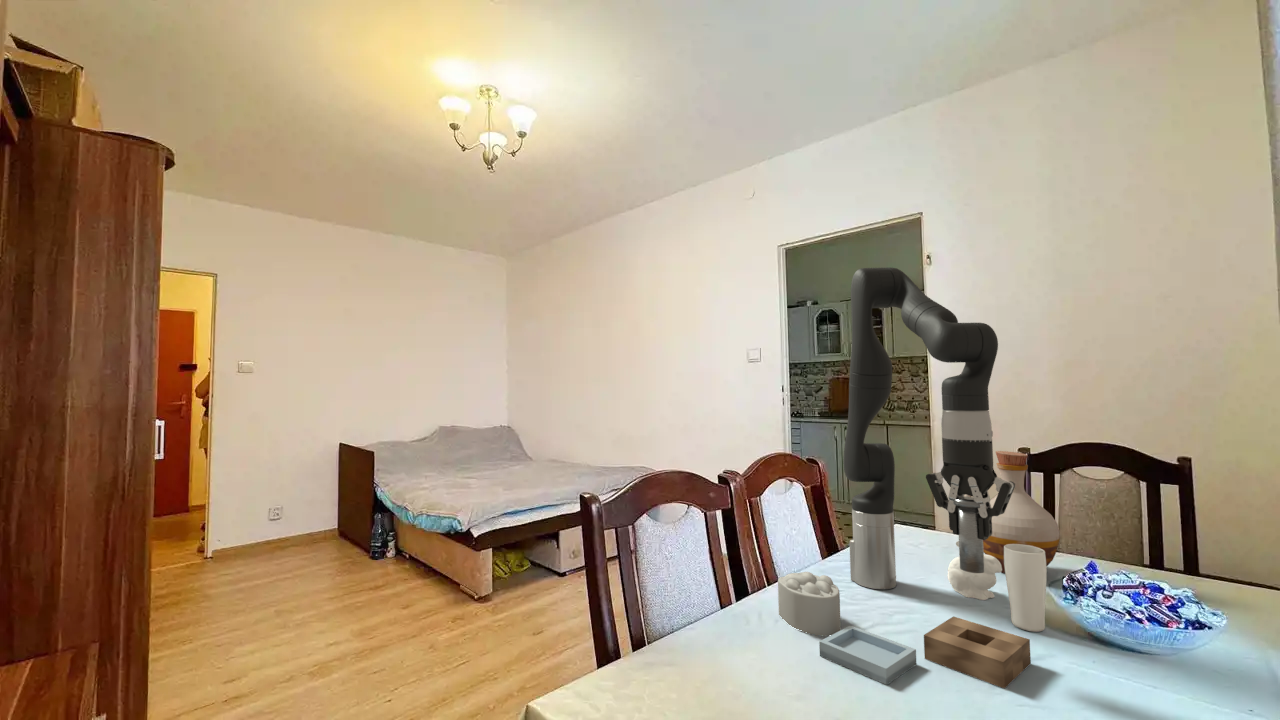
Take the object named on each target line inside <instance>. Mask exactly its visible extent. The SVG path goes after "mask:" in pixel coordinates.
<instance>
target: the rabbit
mask: <svg viewBox="0 0 1280 720" xmlns="http://www.w3.org/2000/svg"><path fill="white" fill-rule="evenodd" d="M955 545H956V547H957V548H959V540H956V542H955ZM1001 571H1002V567H1001V563H1000V562H999V561H998V560H997V559H996V558H995V557H993V556H991V555H986V554H985V553H984V572H983V573H971V572H966V571H963V570H961V569H960V557H959V556H956V557H954V558H953V559H952V560H951V561H950V563H949V565H948V568H947V579H948V580H947V581H948V582H949V584H950V585H951V587H952V589H953V590H954V591H955V592H956V593H959V594H960V595H962V596H963V597H964V598H969V599H971V598H972V599H976V600H980V601H988V599H993V598H995V594H994V593H993V592H992V591H990V589H991V588H993V587H994V586H995V585H996V584H997V575H996V574H1000V573H1002V572H1001Z"/></svg>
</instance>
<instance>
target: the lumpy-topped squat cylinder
mask: <svg viewBox="0 0 1280 720" xmlns="http://www.w3.org/2000/svg"><path fill="white" fill-rule="evenodd" d="M777 588H778V589H777V592H778V593H777V595H778V597H777V598H778V616H779V615H780V616H781V617H782V619H784V620H785V621H786V622H787V623H788V624H789V625H791V626H792V627H794V628H796V629H799V630H802V631H804V632H803V633H805V632H807V633H806V634H808V633H810V634H809V635H812V634H815V635H814V636H818V635H823V636H822V637H829V635H833V634H835V633H837V632H838V631H840V630H842V628H841V627H842V626H841V625H842V624H841V599H840V598H841V597H840V594H841V593H840V588H839V587H838V586H837V585H836V584H834V581H833V579H832V578H831V577H830V576H829V575H826V574H823V575H820V576H819V575H816V574H814V573H812V572H810V571H802V572H794V573H791V572H790V573H788V574H786V575H785V576H781V577H779V578H778V579H777ZM782 619H781V620H782ZM787 623H786V624H787ZM788 624H787V625H788ZM789 625H788V626H789ZM791 626H790V627H791ZM792 627H791V628H792ZM794 628H793V629H794ZM796 629H795V630H796ZM799 630H798V631H799ZM802 631H801V632H802Z"/></svg>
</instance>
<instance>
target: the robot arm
mask: <svg viewBox="0 0 1280 720" xmlns="http://www.w3.org/2000/svg"><path fill="white" fill-rule="evenodd" d="M850 285H851V286H850V310H851V311H850V312H851V348H850V349H851V351H850V364H849V383H848V413H847V414H848V417H847V427H846V434H845V441H844V450H843V457H842V458H843V461H842V462H843V471H844V474H845V477H846V478H847V480H849V482H854V483H855V482H856V483H873V484H872V486H871V487H870V488H869V489H867V490H866V491H864V492H861V493H859V494H856V495H854V496H853V497H852V499H851V516H852V517H851V518H852V522H851V523H852V539H850V540H849V566H850V568H849V569H850V581H852V582H855V583H856V584H857V585H859V586H862V587H864V588H865V587H866V588H870V589H876V590H889V589H890V590H891V589H894V588H895V587H897V572H896V567H897V566H896V565H897V564H896V545H895V544H896V541H895V538H896V537H895V522H894V521H895V518H894V515H895V514H894V503H895V477H896V476H895V473H896V472H895V471H896V470H895V468H896V467H895V456H894V452H893V449H892V448H891V447H890V446H889V445H888V444H887V443H881V442H877V443H876V442H875V443H874V442H873V443H872V442H870V443H868V442H867V443H864V442H865V438H866V436H867V435H866V433H867V432H868V429H869V427H870V424H871V423H872V421H873V420H874V418H875V417H876V415H878V413H879V412H880V411H881V409H882V408H883V407H884V405H885V404H886V402H887V401H888V399H889V398H890V395H891V393H892V383H893V364H892V361H891V360H892V359H891V358H890V356H889V354H888V353H887V351H886V349H885V348H884V346H883V345H882V343H881V341H880V339H879V338H878V336H877V334H876V333H877V332H876V331H875V328H874V325H873V309H887V308H898V309H900V310H901V312H900V317H901V319H902V322H903V324H904V325H905V326H906V328H908V329H909V330H910V331H911V333H914V335H916V336H917V337H919V338H920V339H921V340H922V342H923V344H924V346H925V347H926V349H927V351H928V353H929V354H930V356H931V357H932V358H933V359H935V360H937V361H940V362H943V363H946V364H947V363H948V364H949V363H951V364H952V363H954V364H955V363H964V367H963V369H962V371H961V373H960V374H958V375H954V376H949V377H947V378H944V379H943V381H942V383H941V403H942V404H941V405H942V408H941V409H942V413H941V415H942V416H941V427H940V428H941V447H942V451H941V453H942V462H943V465H942V468H941V469H940V471H939V472H932V473H928V474H926V475H925V479H926V481H927V482H926V483H928V486H929V489H930V492H931V494H932V497H933V498H934V501H935V504H936V506H937V507H938V508H942V509H945V510H946V511H947V512H948V525H949V526H948V527H949V530H950V531H951V532H952V534H953V535H957V536H959V534H958V511H957V506H956V505H954V504H953V500H954V499H958V498H961V497H964V496H965V495H966V494H967V495H970V496H971V497H973V498H974V501H975V502H976V503H978V504H980V508H978V510H979V514H980V517H979V518H978V520H979V538H980V539H981V540H986V539H988V538H989V537H990V536H991V535H992V517H993V516H999V515H1000V514H1003V513H1004V512H1005V510H1006V508H1007V505H1008V503H1009V500H1010V498H1011V495H1012V493H1013V490H1014V488H1015V483H1014V482H1012V481H1009V482H1007V481H1005V480H1003V479H1002V478H1001V477H999V478H998V474H997V473H996V471H995V468H994V453H993V451H994V450H993V435H994V432H993V430H992V420H991V415H990V411H989V410H990V401H989V399H990V398H989V385H990V381H991V377H992V373H993V370H994V369H993V368H994V366H995V362H996V357H997V354H998V351H999V339H998V336H997V334H996V331H995V330H994V329H993V327H991V326H990V325H989V324H987V323H985V322H959V320H958V318H957V316H956V314H954V312H952V311H951V310H949V309H948V308H946V307H945V306H943V304H940V303H938V302H937V301H935V300H934V299H932V298H930V297H929V296H927V295H926V294H925V292H923V290H921V289H920V287H918V285H917V284H915V283H914V281H913V280H911V278H910V277H909V276H908V275H907V274H906V273H905V272H903V270H901V269H898V268H896V267H862V268H858V269H857V270H856V271H855V272H854V274H853V275H852V279H851V284H850ZM1000 478H1001V479H1000ZM944 481H945V482H946V484H947V485H948V486H949V492H948V495H947V493H946V491H945V488H944V486H943V483H944ZM993 485H995V490H996V492H998V493H997V494H998V496H997V498H996V501H995V503H994V505H993V508H992V507H991V504H990V500H991V497H990V494H989V490H990V489H991V488H992V486H993Z"/></svg>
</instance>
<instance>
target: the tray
mask: <svg viewBox="0 0 1280 720" xmlns="http://www.w3.org/2000/svg"><path fill="white" fill-rule="evenodd" d="M818 644H819V656H820V657H821V658H823V659H826V660H828V661H830V660H831V662H833V663H835V664H837V665H839V664H840V665H839V666H842V667H844V668H846V669H848V670H851V671H853V672H856V673H858V674H860V675H863V676H865V677H867V678H870V679H871V680H875V681H877V682H879V683H881V684H884V685H886V686H887V685H889V684H890V683H892V682H894V681H896V680H897V679H898V678H899V677H901V676H902V675H904V674H905V673H906V672H908V671H909V670H911V669H912V668H914V667H915V666H916V665H917V649H916V648H914V647H911V646H908V645H905V644H902V643H900V642H898V641H894V640H893V639H889V638H887V637H884V636H881V635H878V634H875V633H872V632H870V631H867V630H865V629H861V628H859V627H856V626H853V625H848V626H846V627H845V628H843V629H842V628H841V630H840V631H838V632H837V633H835V634H833V635H831V636H826V637H825V638H823V639H821V640H819V643H818Z"/></svg>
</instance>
